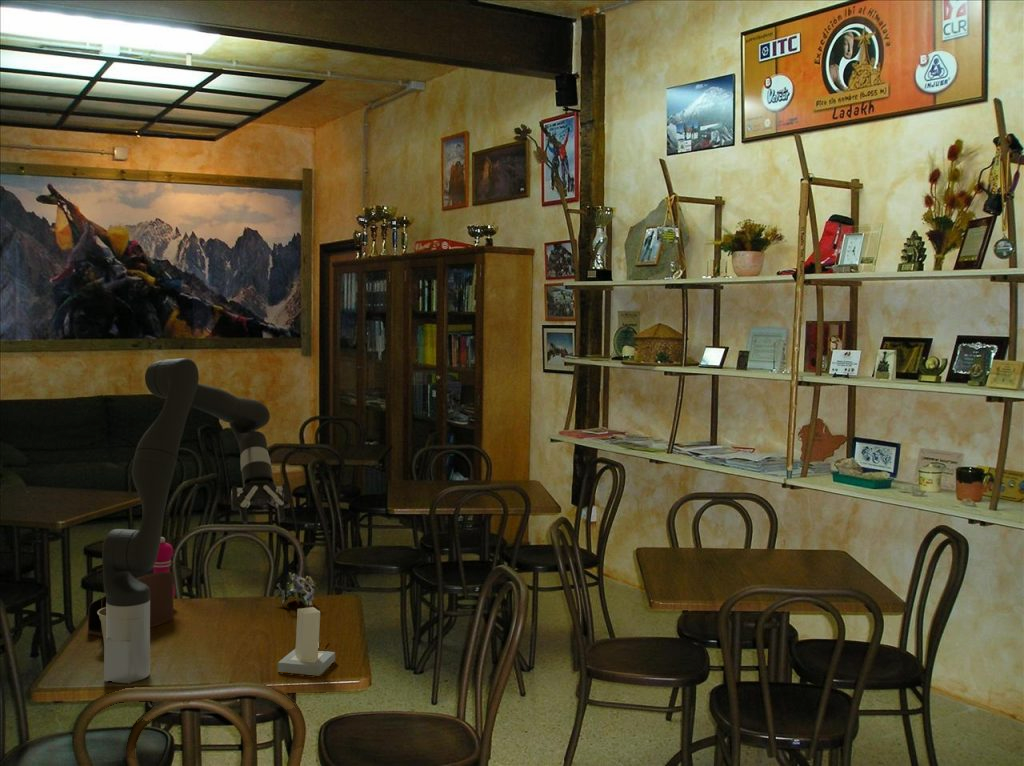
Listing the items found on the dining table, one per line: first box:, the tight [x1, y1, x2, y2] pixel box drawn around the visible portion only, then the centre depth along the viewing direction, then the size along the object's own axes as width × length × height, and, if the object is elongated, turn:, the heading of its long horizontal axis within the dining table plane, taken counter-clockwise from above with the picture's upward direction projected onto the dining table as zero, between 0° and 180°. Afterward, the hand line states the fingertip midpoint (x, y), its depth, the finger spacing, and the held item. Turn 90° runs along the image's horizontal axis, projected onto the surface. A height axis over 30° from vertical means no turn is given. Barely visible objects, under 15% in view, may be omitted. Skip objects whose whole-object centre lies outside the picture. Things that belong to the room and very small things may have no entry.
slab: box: [277, 647, 336, 675], centre depth 235 cm, size 10×10×3 cm
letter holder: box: [87, 570, 174, 638], centre depth 261 cm, size 10×20×14 cm, turn 155°
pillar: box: [294, 606, 321, 660], centre depth 234 cm, size 4×4×11 cm
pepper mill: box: [153, 536, 176, 598], centre depth 277 cm, size 7×7×20 cm
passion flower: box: [274, 571, 317, 608], centre depth 283 cm, size 11×11×12 cm
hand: (263, 521), depth 249 cm, fingers open, 8 cm apart
